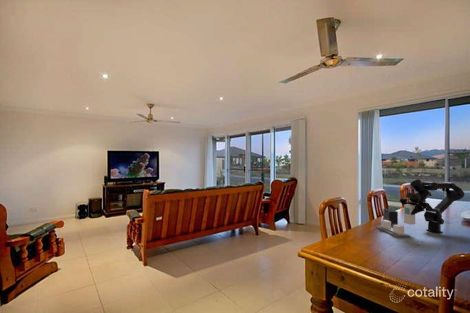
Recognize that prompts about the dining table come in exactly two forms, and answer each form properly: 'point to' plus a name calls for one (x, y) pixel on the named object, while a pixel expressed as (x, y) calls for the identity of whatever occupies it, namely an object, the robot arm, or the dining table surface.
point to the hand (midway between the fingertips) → (407, 213)
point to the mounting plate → (392, 229)
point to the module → (409, 214)
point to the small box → (390, 216)
